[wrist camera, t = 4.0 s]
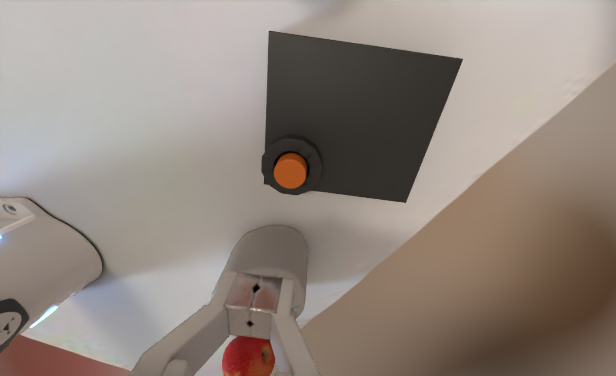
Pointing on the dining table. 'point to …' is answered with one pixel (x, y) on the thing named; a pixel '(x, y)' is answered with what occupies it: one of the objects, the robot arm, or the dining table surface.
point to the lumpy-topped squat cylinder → (273, 259)
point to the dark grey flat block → (352, 113)
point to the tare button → (290, 170)
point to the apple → (248, 357)
